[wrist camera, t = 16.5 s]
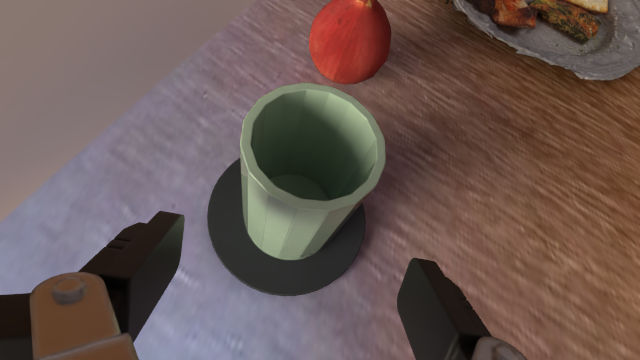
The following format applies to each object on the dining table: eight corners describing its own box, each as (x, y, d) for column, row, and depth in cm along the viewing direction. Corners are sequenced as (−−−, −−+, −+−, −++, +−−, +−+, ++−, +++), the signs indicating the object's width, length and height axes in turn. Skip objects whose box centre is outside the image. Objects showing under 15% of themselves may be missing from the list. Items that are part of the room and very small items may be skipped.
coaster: (280, 334, 19) (280, 334, 18) (174, 204, 21) (172, 201, 20) (392, 224, 23) (395, 222, 23) (295, 124, 25) (296, 120, 24)
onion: (295, 51, 28) (312, -47, 21) (360, 49, 29) (396, -43, 22) (311, 109, 26) (335, 22, 19) (379, 103, 27) (426, 21, 20)
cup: (285, 281, 20) (311, 242, 12) (224, 208, 21) (209, 127, 13) (353, 220, 22) (413, 153, 14) (294, 157, 23) (319, 62, 15)
